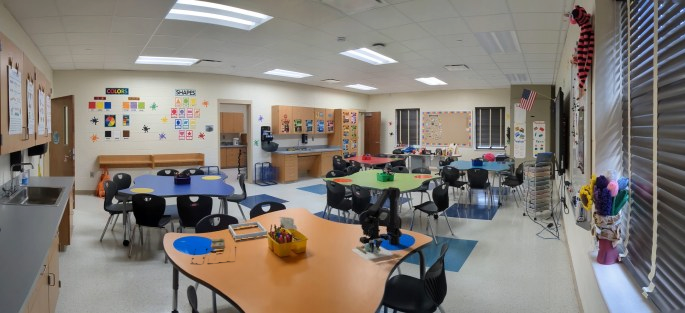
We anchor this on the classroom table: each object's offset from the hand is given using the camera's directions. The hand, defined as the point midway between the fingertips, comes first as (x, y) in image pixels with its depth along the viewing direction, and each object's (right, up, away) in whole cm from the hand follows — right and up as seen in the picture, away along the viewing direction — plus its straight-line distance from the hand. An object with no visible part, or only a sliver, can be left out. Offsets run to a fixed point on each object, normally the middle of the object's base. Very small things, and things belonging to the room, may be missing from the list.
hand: (374, 251), depth 230 cm
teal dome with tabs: (-2, -1, +4) cm, 5 cm away
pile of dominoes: (-103, -4, +5) cm, 103 cm away
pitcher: (-60, 0, +38) cm, 71 cm away
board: (-1, -2, +3) cm, 3 cm away
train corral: (-94, +1, +50) cm, 106 cm away
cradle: (-3, 0, +7) cm, 8 cm away
